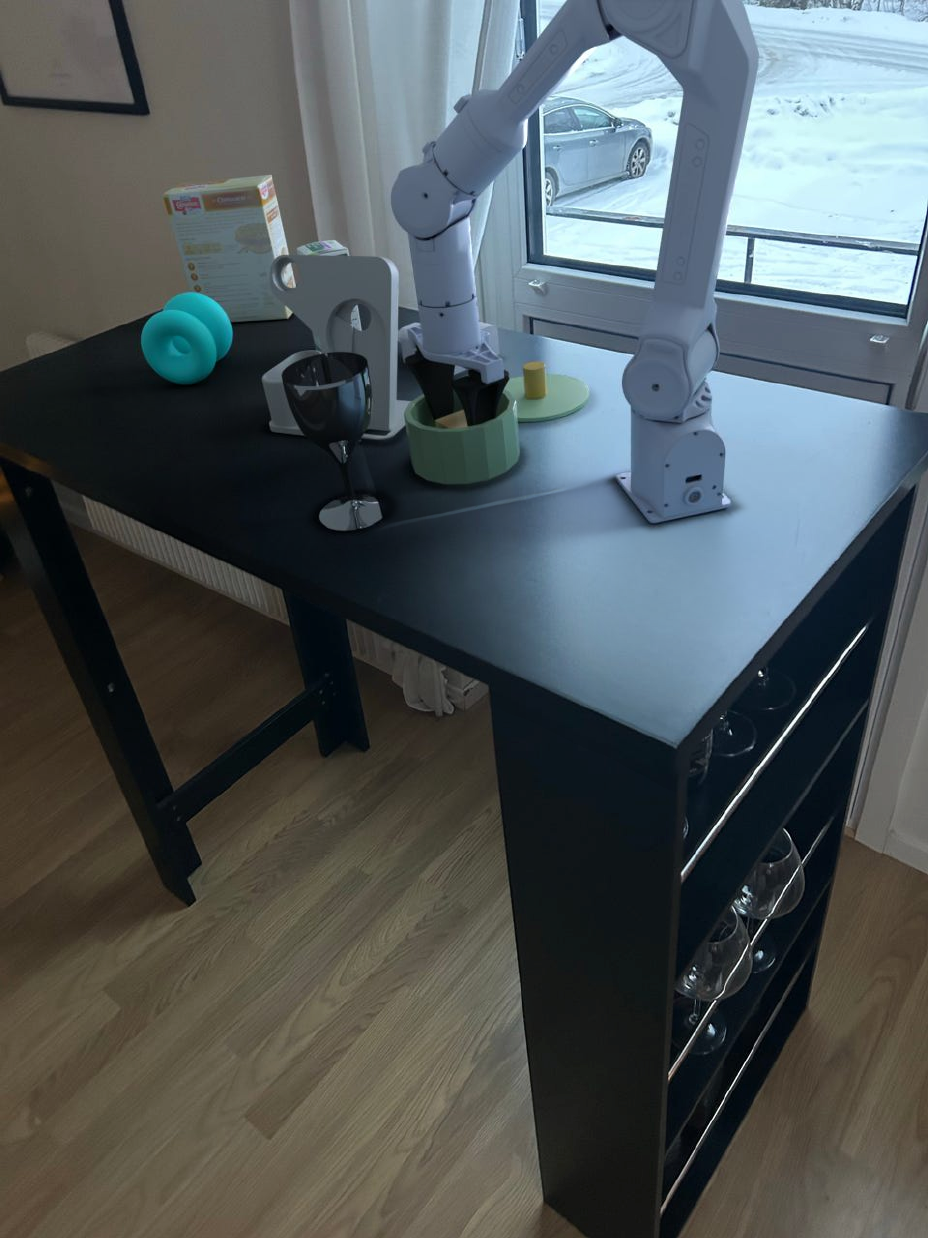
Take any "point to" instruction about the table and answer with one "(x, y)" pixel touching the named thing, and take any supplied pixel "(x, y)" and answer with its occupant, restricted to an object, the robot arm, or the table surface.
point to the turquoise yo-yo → (187, 338)
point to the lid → (545, 394)
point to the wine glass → (335, 424)
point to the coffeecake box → (231, 243)
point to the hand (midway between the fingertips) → (462, 428)
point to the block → (452, 421)
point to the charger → (493, 346)
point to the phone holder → (342, 328)
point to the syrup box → (331, 250)
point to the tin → (462, 444)
